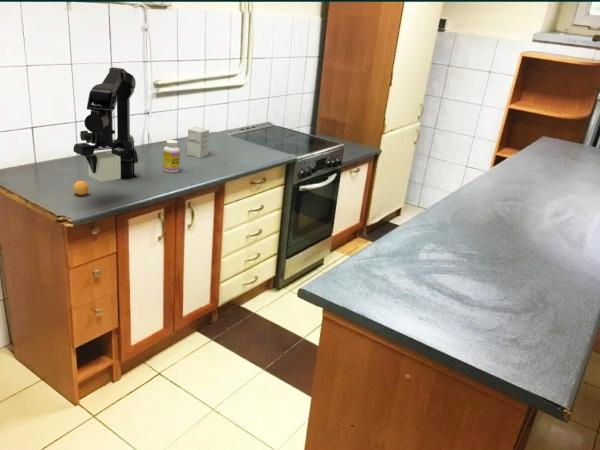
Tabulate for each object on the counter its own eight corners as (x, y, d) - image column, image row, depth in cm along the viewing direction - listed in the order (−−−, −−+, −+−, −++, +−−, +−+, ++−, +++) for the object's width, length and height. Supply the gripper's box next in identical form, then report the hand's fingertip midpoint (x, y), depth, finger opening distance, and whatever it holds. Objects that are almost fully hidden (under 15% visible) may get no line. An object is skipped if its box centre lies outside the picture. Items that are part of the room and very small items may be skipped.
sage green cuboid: (108, 172, 182) (108, 151, 179) (120, 178, 178) (120, 156, 175) (88, 175, 176) (87, 153, 173) (100, 181, 172) (100, 159, 169)
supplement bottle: (171, 174, 215) (172, 144, 210) (159, 170, 218) (160, 140, 213) (182, 171, 220) (183, 141, 215) (171, 167, 223) (171, 138, 218)
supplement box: (186, 155, 242) (187, 128, 237) (195, 152, 249) (196, 126, 244) (199, 158, 240) (201, 132, 235) (208, 155, 247) (209, 129, 242)
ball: (84, 191, 186) (83, 178, 184) (91, 195, 183) (91, 182, 181) (71, 193, 182) (70, 180, 180) (78, 198, 179) (77, 184, 177)
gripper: (115, 119, 182) (115, 162, 188) (63, 123, 168) (66, 169, 174) (133, 126, 176) (133, 170, 181) (81, 130, 162) (83, 177, 167)
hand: (104, 171), depth 176 cm, fingers closed on sage green cuboid, 7 cm apart
